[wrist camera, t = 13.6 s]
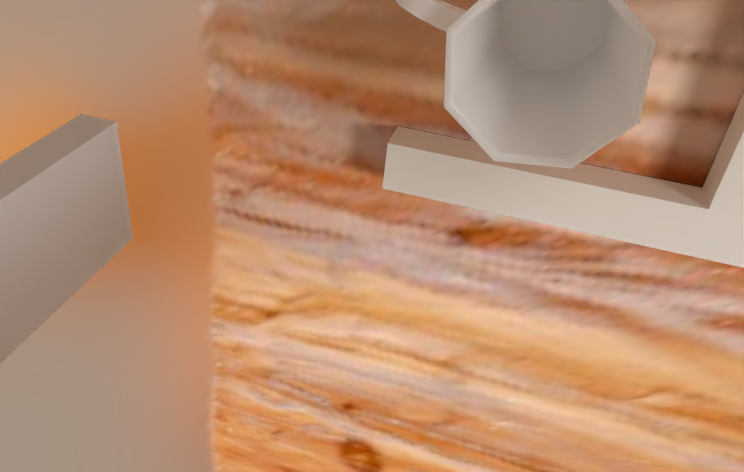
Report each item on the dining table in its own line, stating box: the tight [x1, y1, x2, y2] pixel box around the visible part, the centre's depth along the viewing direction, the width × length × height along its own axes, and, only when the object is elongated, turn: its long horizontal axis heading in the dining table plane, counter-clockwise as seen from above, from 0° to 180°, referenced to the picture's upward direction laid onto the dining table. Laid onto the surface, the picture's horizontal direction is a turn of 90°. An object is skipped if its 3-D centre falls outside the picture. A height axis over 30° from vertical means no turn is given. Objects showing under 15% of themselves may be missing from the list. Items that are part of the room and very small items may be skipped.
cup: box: [395, 0, 656, 168], centre depth 25 cm, size 7×10×8 cm
